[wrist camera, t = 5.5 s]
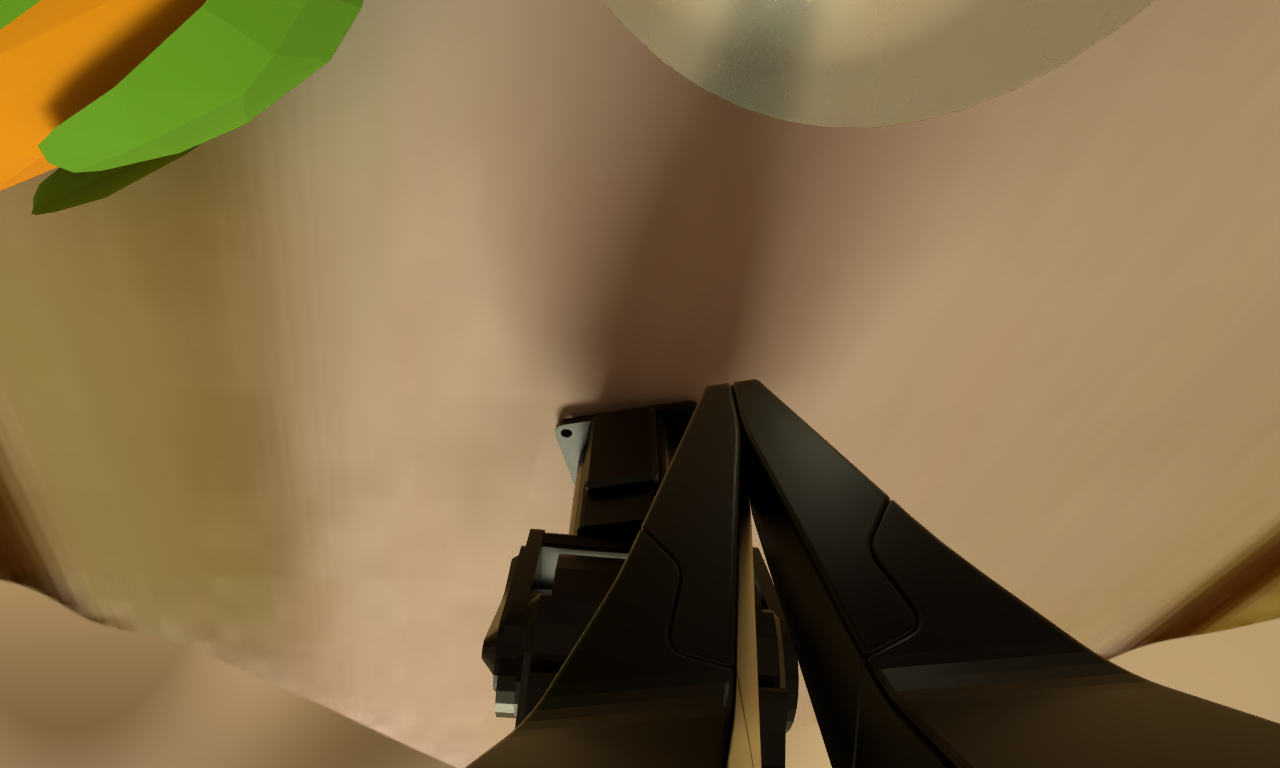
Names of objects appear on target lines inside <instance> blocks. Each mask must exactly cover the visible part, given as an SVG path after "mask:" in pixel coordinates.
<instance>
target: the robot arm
mask: <svg viewBox="0 0 1280 768" xmlns="http://www.w3.org/2000/svg"><path fill="white" fill-rule="evenodd" d="M688 411H692V412H693V413H692V414H686V413H685V412H688ZM564 429H569V430H571V431H569V432H568V431H564ZM555 434H556V437H557V440H558V442H559V445H560V448H561V450H562V453H563V455H564V458H565V461H566V463H567V466H568V469H569V471H570V474H571V476H572V479H573V482H574V484H575V490H574V498H573V506H572V513H571V521H570V529H569V534H557V533H545V530H540V529H530V533H529V537H528V540H527V544H526V546H521V549H520V553H519V555H518V556H516V557H514V558H513V559H512V561H511V566H510V571H509V575H508V580H507V584H506V588H505V592H504V595H503V599H502V601H501V604H500V606H499V608H498V610H497V613H496V615H495V617H494V619H493V621H492V624H491V626H490V628H489V630H488V633H487V635H486V637H485V640H484V644H483V649H482V659H483V661H484V662H485V664H486V665H487V667H488V668H489V669H490V671H491V672H492V674H493V689H494V691H496V702H495V711H496V717H507V718H516V725H515V729H514V730H513V731H512V732H511V733H510V734H509V735H508V736H506V737H505V738H504V739H503V740H501V741H500V742H499V743H497V744H496V745H495V746H493V747H492V748H491V749H489V750H488V751H487V752H485V753H484V754H483V755H481V756H480V757H479V758H477V759H476V760H475V761H473V762H472V763H471V764H469V765H468V766H467V767H465V768H785V734H786V733H787V732H788V731H789V730H790V728H791V726H792V724H793V722H794V718H795V713H796V709H797V701H798V684H799V676H798V661H799V665H800V668H801V671H802V674H803V677H804V680H805V684H806V687H807V690H808V693H809V696H810V699H811V703H812V706H813V709H814V712H815V715H816V718H817V722H818V725H819V728H820V731H821V734H822V737H823V740H824V744H825V747H826V750H827V753H828V756H829V759H830V763H831V766H832V768H1280V724H1279V723H1276V722H1273V721H1270V720H1267V719H1264V718H1261V717H1258V716H1255V715H1251V714H1248V713H1245V712H1242V711H1239V710H1236V709H1233V708H1230V707H1227V706H1224V705H1221V704H1218V703H1214V702H1211V701H1208V700H1205V699H1202V698H1199V697H1196V696H1193V695H1190V694H1187V693H1184V692H1181V691H1177V690H1175V689H1171V688H1169V687H1165V686H1162V685H1160V684H1157V683H1154V682H1151V681H1149V680H1147V679H1144V678H1142V677H1140V676H1137V675H1135V674H1133V673H1131V672H1129V671H1127V670H1125V669H1123V668H1121V667H1119V666H1118V665H1116V664H1114V663H1112V662H1110V661H1109V660H1107V659H1105V658H1103V657H1102V656H1100V655H1098V654H1097V653H1095V652H1093V651H1092V650H1090V649H1089V648H1087V647H1086V646H1084V645H1083V644H1081V643H1080V642H1079V641H1077V640H1076V639H1074V638H1073V637H1071V636H1070V635H1069V634H1067V633H1066V632H1064V631H1063V630H1062V629H1060V628H1059V627H1057V626H1056V625H1055V624H1053V623H1052V622H1050V621H1049V620H1048V619H1046V618H1045V617H1044V616H1042V615H1041V614H1039V613H1038V612H1037V611H1035V610H1034V609H1032V608H1031V607H1030V606H1028V605H1027V604H1025V603H1024V602H1023V601H1021V600H1020V599H1018V598H1017V597H1016V596H1014V595H1013V594H1012V593H1010V592H1009V591H1007V590H1006V589H1005V588H1003V587H1002V586H1000V585H999V584H998V583H996V582H995V581H993V580H992V579H991V578H989V577H988V576H987V575H985V574H984V573H982V572H981V571H980V570H978V569H977V568H976V567H974V566H973V565H972V564H970V563H969V562H968V561H966V560H965V559H964V558H962V557H961V556H960V555H958V554H957V553H956V552H954V551H953V550H952V549H950V548H949V547H948V546H946V545H945V544H944V543H942V542H941V541H940V540H939V539H938V538H936V537H935V536H934V535H933V534H932V533H930V532H929V531H928V530H927V529H926V528H925V527H923V526H922V525H921V524H920V523H919V522H917V521H916V520H915V519H914V518H913V517H911V516H910V515H909V514H908V513H907V512H906V511H905V510H904V509H902V508H901V507H900V506H899V505H898V504H897V503H896V502H895V501H893V500H890V498H889V496H888V495H887V494H885V493H884V492H883V491H882V490H881V489H880V488H879V487H878V486H876V485H875V484H874V483H873V482H872V481H871V480H870V479H869V478H867V477H866V476H865V475H864V474H863V473H862V472H861V471H860V470H858V469H857V468H856V467H855V466H854V465H853V464H852V463H851V462H849V461H848V460H847V459H846V458H845V457H844V456H843V455H842V454H840V453H839V452H838V451H837V450H836V449H835V448H834V447H833V446H831V445H830V444H829V443H828V442H827V441H826V440H825V439H824V438H823V437H821V436H820V435H819V434H818V433H817V432H816V431H815V430H814V429H812V428H811V427H810V426H809V425H808V424H807V423H806V422H805V421H803V420H802V419H801V418H800V417H799V416H798V415H797V414H796V413H794V412H793V411H792V410H791V409H790V408H789V407H788V406H787V405H785V404H784V403H783V402H782V401H781V400H780V399H779V398H778V397H776V396H775V395H774V394H773V393H772V392H771V391H770V390H769V389H767V388H766V387H765V386H764V385H763V384H762V383H761V382H760V381H758V380H756V379H752V380H745V381H739V382H734V383H733V385H732V386H731V385H730V384H728V383H725V384H718V385H711V386H707V387H706V388H705V390H704V391H703V394H702V396H701V398H700V400H699V402H698V404H697V403H696V402H694V401H683V402H677V403H670V404H663V405H656V406H649V407H643V408H636V409H629V410H622V411H615V412H609V413H602V414H595V415H588V416H581V417H575V418H568V419H563V420H560V421H559V422H558V423H557V425H556V430H555ZM749 501H750V502H749ZM750 506H751V511H752V515H753V518H754V522H755V526H756V529H757V532H758V535H759V538H760V541H761V545H762V548H763V551H764V554H765V557H766V560H767V564H768V567H769V570H770V573H771V576H772V579H773V582H772V579H771V577H770V574H769V572H768V570H767V567H766V565H765V563H764V560H763V558H762V555H761V553H760V551H759V548H755V547H752V524H751V511H750ZM773 583H774V584H773ZM797 658H798V660H797Z"/></svg>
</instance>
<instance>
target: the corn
mask: <svg viewBox="0 0 1280 768" xmlns="http://www.w3.org/2000/svg"><path fill="white" fill-rule="evenodd" d="M362 3H363V0H0V191H1V190H3V189H6V188H8V187H10V186H13V185H15V184H18V183H20V182H22V181H25V180H27V179H30V178H32V177H35V176H37V175H39V174H42V173H44V172H47V171H49V170H51V169H54V168H56V167H60V168H59V169H58V170H56V171H55V172H54V173H53V174H51V175H50V176H49V177H48V178H46V179H45V180H44V181H43V182H42V183H40V184H39V187H38V189H37V191H36V193H35V195H34V197H33V211H32V214H35V215H38V214H44V213H50V212H57V211H60V210H64V209H67V208H71V207H74V206H78V205H81V204H84V203H88V202H91V201H95V200H98V199H102V198H105V197H107V196H109V195H111V194H113V193H115V192H117V191H118V190H120V189H122V188H124V187H126V186H128V185H130V184H131V183H133V182H135V181H137V180H139V179H141V178H143V177H145V176H146V175H148V174H150V173H152V172H154V171H156V170H158V169H159V168H161V167H163V166H165V165H167V164H169V163H171V162H173V161H174V160H176V159H178V158H180V157H182V156H184V155H186V154H187V153H188V152H190V151H191V150H193V149H194V148H196V147H197V146H198V145H200V144H201V143H203V142H206V141H208V140H210V139H212V138H215V137H217V136H219V135H221V134H224V133H226V132H228V131H230V130H233V129H235V128H237V127H240V126H242V125H244V124H246V123H248V122H249V121H250V120H252V119H253V118H254V117H256V116H257V115H258V114H260V113H261V112H262V111H264V110H265V109H266V108H268V107H269V106H270V105H272V104H273V103H274V102H276V101H277V100H278V99H280V98H281V97H282V96H284V95H285V94H286V93H288V92H289V91H290V90H292V89H293V88H294V87H296V86H297V85H298V84H300V83H301V82H302V81H304V80H305V79H306V78H308V77H309V76H310V75H312V74H313V73H314V72H316V71H317V70H318V69H319V68H321V67H322V66H323V65H325V64H326V63H327V62H329V61H330V60H331V58H332V57H333V55H334V53H335V52H336V50H337V48H338V47H339V45H340V43H341V41H342V40H343V38H344V36H345V35H346V33H347V31H348V30H349V28H350V26H351V25H352V23H353V21H354V19H355V18H356V16H357V14H358V13H359V11H360V9H361V7H362Z"/></svg>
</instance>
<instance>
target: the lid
mask: <svg viewBox="0 0 1280 768" xmlns="http://www.w3.org/2000/svg"><path fill="white" fill-rule="evenodd" d="M602 1H603V2H604V3H605V4H606V6H607V7H608V8H609V9H610V10H611V12H612V13H613V14H614V15H615V16H616V17H617V19H618V20H619V21H620V22H621V23H622V24H623V26H624V27H625V28H626V29H627V30H628V31H629V32H630V33H632V34H633V35H634V36H635V37H636V38H637V39H638V40H639V41H640V42H642V43H643V44H644V45H645V46H646V47H647V48H648V49H649V50H650V51H652V52H653V53H654V54H655V55H656V56H657V57H658V58H659V59H660V60H662V61H663V62H664V63H665V64H667V65H668V66H670V67H671V68H673V69H674V70H676V71H677V72H679V73H680V74H682V75H683V76H685V77H686V78H687V79H689V80H690V81H692V82H693V83H695V84H696V85H698V86H699V87H701V88H702V89H704V90H706V91H708V92H710V93H713V94H715V95H717V96H719V97H721V98H723V99H725V100H727V101H729V102H731V103H733V104H735V105H738V106H740V107H742V108H744V109H747V110H751V111H754V112H757V113H761V114H764V115H767V116H770V117H774V118H777V119H780V120H783V121H789V122H795V123H802V124H809V125H815V126H822V127H864V128H872V127H880V126H887V125H895V124H902V123H910V122H917V121H921V120H925V119H929V118H933V117H936V116H940V115H944V114H948V113H952V112H955V111H959V110H963V109H966V108H969V107H971V106H974V105H976V104H979V103H981V102H984V101H987V100H989V99H992V98H994V97H997V96H999V95H1002V94H1005V93H1007V92H1010V91H1012V90H1014V89H1016V88H1018V87H1020V86H1022V85H1024V84H1026V83H1028V82H1030V81H1032V80H1034V79H1036V78H1038V77H1040V76H1042V75H1043V74H1045V73H1047V72H1049V71H1051V70H1053V69H1055V68H1057V67H1059V66H1061V65H1063V64H1065V63H1066V62H1068V61H1069V60H1071V59H1072V58H1074V57H1075V56H1077V55H1079V54H1080V53H1082V52H1083V51H1085V50H1086V49H1088V48H1089V47H1091V46H1093V45H1094V44H1096V43H1097V42H1099V41H1100V40H1102V39H1103V38H1105V37H1107V36H1108V35H1110V34H1111V33H1113V32H1114V31H1116V30H1117V29H1118V28H1120V27H1121V26H1122V25H1124V24H1125V23H1126V22H1128V21H1129V20H1130V19H1131V18H1133V17H1134V16H1135V15H1137V14H1138V13H1139V12H1141V11H1142V10H1143V9H1144V8H1146V7H1147V6H1148V5H1150V4H1151V3H1152V2H1153V1H1155V0H602Z"/></svg>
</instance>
